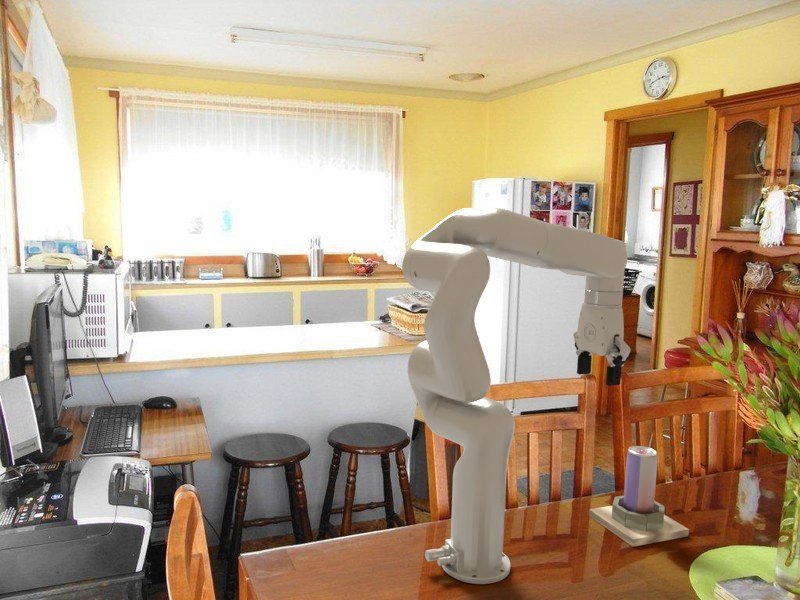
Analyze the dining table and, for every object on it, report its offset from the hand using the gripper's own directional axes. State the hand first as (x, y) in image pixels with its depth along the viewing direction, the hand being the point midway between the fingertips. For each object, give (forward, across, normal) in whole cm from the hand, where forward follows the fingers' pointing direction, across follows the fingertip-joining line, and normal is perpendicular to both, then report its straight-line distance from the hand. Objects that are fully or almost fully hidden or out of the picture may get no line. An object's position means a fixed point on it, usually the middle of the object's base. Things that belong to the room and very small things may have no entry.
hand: (597, 379), depth 138 cm
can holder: (+30, +7, +7) cm, 32 cm away
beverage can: (+29, +7, +7) cm, 31 cm away
